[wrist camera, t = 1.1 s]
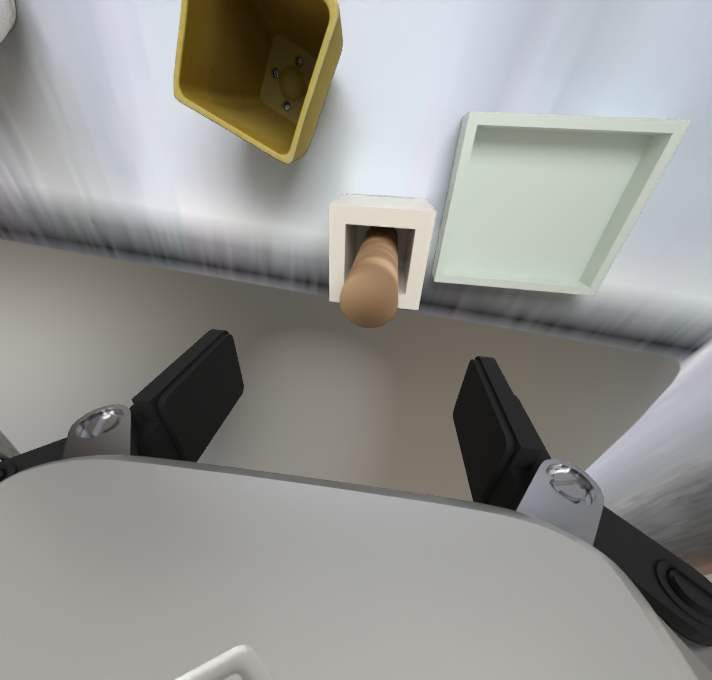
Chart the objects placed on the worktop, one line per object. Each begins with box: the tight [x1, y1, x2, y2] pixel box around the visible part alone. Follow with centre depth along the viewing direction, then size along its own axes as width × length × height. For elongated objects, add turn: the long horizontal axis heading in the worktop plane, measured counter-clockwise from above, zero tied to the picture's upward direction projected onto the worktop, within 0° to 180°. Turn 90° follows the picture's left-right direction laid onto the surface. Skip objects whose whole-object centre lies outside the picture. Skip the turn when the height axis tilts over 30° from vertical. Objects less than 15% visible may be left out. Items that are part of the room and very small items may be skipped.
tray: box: [432, 111, 692, 296], centre depth 26 cm, size 16×14×3 cm
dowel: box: [339, 226, 398, 328], centre depth 23 cm, size 3×3×16 cm
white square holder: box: [329, 193, 436, 310], centre depth 26 cm, size 8×8×9 cm
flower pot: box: [174, 0, 343, 164], centre depth 21 cm, size 9×9×9 cm
